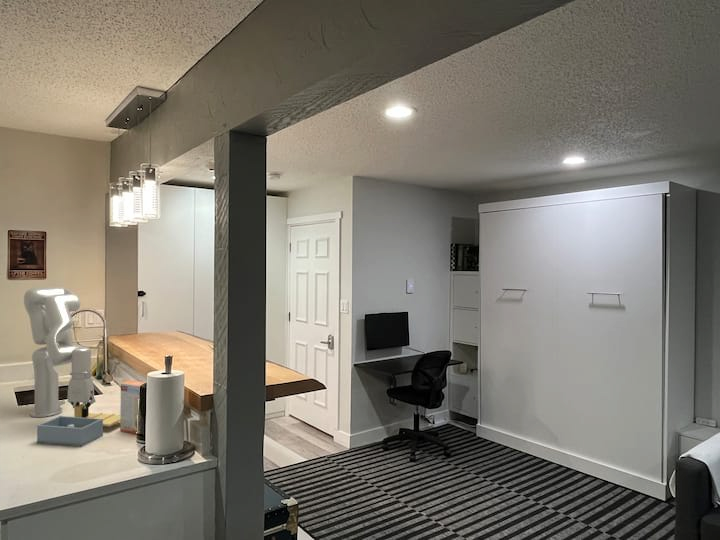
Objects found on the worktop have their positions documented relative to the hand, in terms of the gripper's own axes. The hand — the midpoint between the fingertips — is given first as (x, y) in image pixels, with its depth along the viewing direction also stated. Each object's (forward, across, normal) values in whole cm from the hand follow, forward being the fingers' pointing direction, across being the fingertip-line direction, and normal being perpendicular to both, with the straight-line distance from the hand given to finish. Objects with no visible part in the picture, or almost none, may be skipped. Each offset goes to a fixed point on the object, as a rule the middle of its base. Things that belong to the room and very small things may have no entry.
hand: (81, 416), depth 213 cm
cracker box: (+4, +29, -3) cm, 29 cm away
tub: (+4, +8, -16) cm, 18 cm away
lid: (+1, +8, 0) cm, 8 cm away
